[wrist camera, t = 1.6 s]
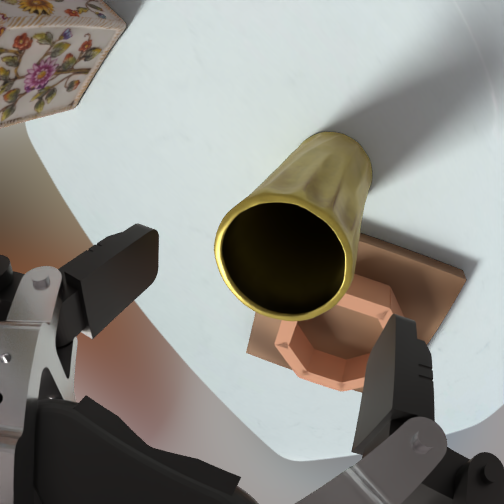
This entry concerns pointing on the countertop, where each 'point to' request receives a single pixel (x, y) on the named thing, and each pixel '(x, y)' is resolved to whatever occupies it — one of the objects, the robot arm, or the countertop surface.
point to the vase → (298, 231)
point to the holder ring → (329, 366)
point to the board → (364, 326)
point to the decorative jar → (51, 54)
